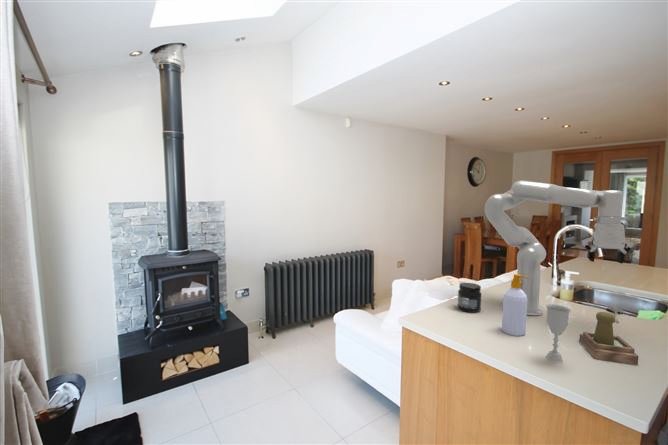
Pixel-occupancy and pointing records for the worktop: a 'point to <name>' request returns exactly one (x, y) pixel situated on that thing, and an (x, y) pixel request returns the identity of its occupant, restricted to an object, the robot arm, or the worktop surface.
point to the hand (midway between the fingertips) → (605, 261)
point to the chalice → (556, 327)
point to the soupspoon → (615, 312)
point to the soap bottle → (514, 308)
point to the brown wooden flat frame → (609, 349)
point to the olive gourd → (604, 328)
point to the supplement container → (469, 297)
